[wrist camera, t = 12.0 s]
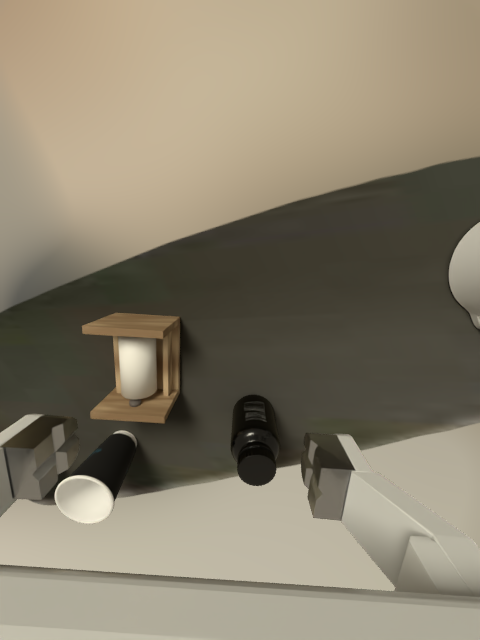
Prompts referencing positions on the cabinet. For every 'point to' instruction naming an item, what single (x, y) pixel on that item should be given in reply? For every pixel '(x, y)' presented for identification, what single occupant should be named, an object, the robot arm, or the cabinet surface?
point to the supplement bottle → (254, 440)
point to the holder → (166, 358)
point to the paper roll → (137, 367)
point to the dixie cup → (97, 480)
